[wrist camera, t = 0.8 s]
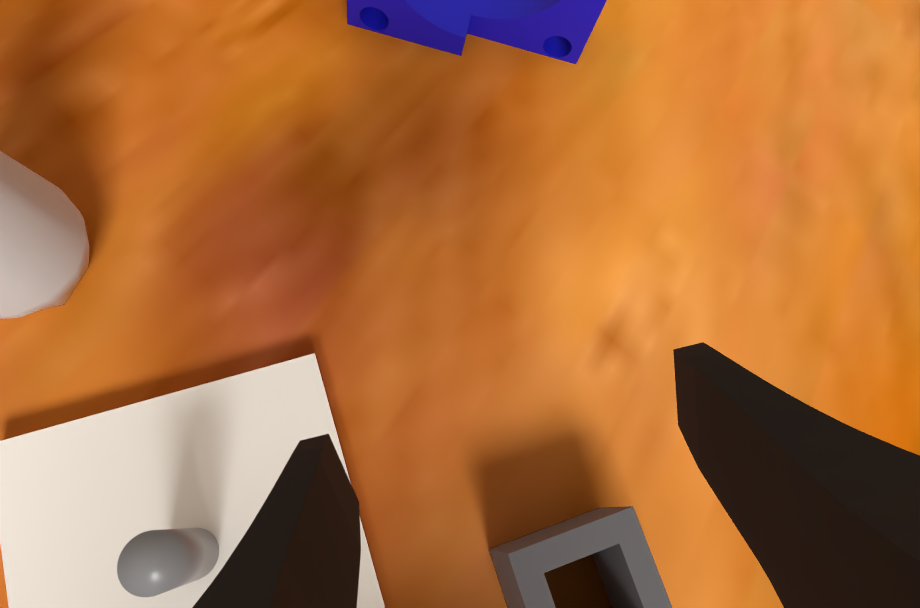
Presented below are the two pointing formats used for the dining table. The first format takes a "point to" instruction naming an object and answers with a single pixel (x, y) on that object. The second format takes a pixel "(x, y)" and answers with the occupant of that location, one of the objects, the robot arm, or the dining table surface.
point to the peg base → (156, 491)
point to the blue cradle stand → (483, 23)
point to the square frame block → (596, 532)
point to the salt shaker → (37, 242)
